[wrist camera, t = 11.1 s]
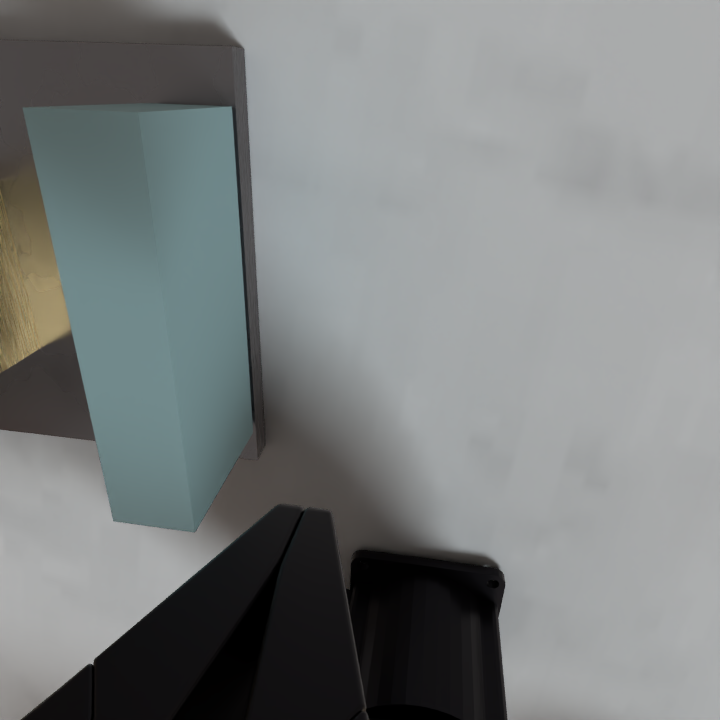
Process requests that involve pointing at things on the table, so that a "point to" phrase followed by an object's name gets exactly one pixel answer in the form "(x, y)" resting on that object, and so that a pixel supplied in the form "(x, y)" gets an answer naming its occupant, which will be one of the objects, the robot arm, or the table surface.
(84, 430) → the vise base
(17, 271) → the brass block
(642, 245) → the table surface
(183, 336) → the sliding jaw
